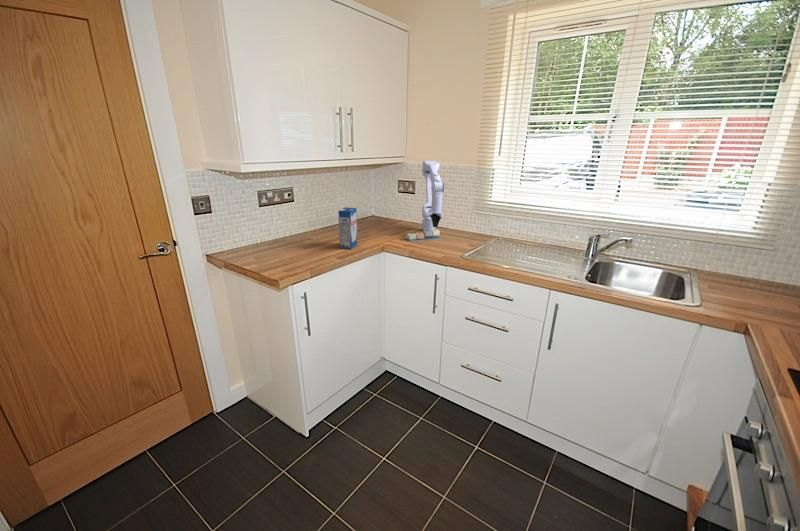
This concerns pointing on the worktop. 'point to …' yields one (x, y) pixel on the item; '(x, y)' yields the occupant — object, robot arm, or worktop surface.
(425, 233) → the key
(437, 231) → the key
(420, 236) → the key
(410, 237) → the key
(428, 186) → the robot arm
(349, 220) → the milk carton
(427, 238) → the keypad board
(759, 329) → the worktop surface
